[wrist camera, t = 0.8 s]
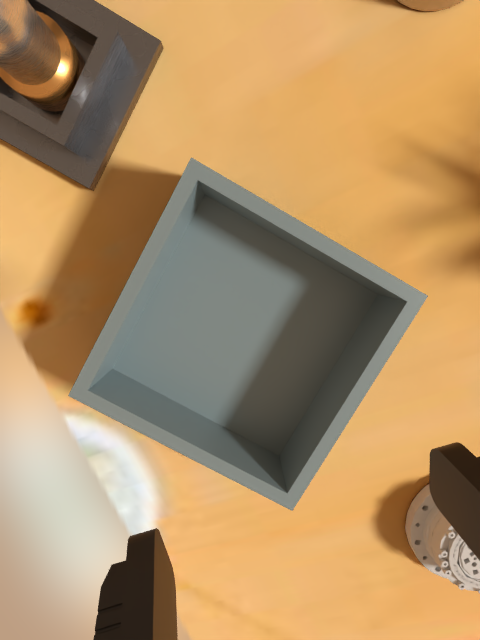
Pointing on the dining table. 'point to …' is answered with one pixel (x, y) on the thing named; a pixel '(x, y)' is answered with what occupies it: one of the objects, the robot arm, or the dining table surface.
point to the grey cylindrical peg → (37, 56)
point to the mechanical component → (440, 544)
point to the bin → (244, 337)
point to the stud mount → (84, 92)
